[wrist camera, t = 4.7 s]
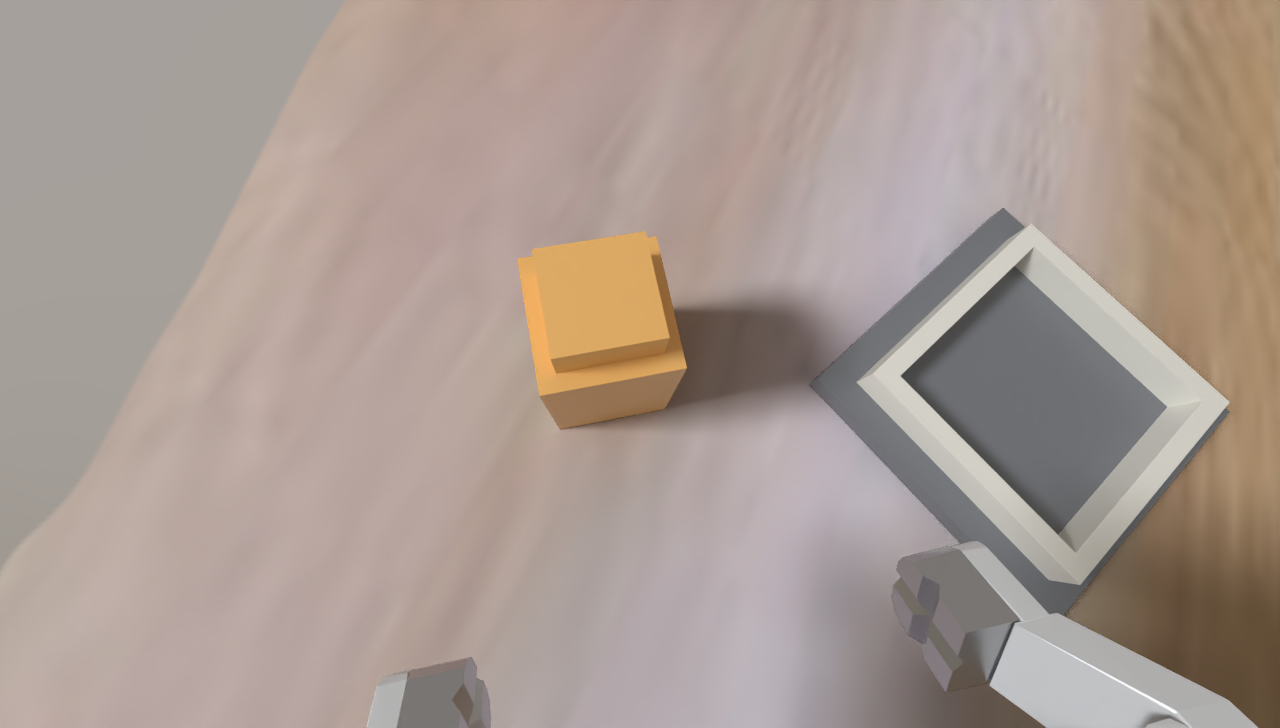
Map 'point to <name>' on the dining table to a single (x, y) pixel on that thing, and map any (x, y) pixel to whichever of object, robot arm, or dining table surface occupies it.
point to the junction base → (1024, 407)
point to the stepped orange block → (601, 328)
